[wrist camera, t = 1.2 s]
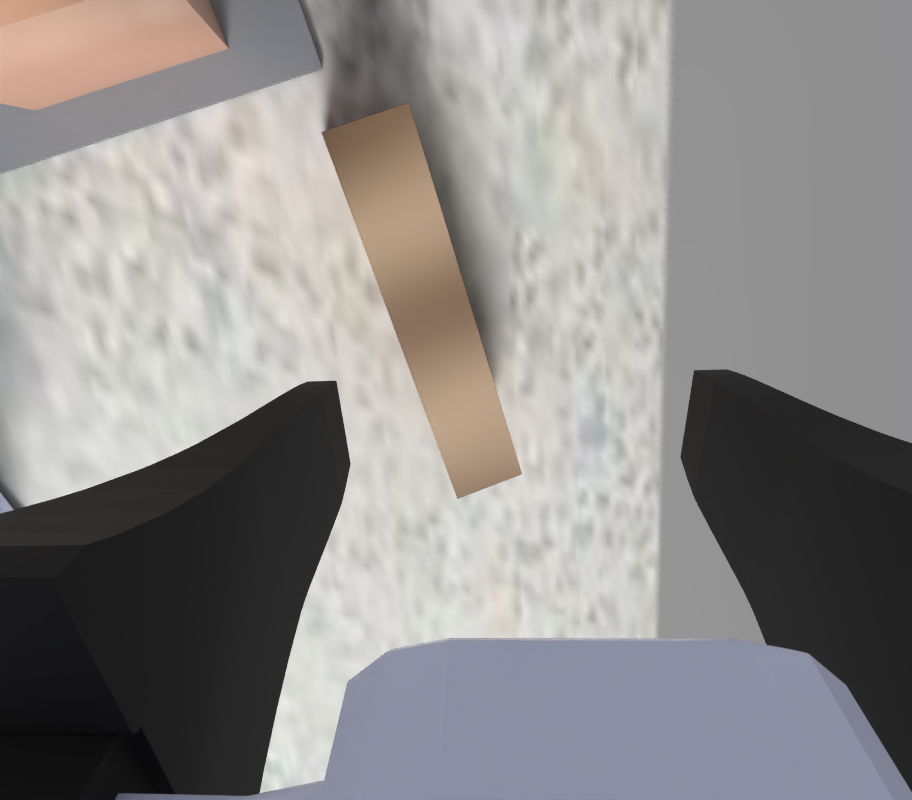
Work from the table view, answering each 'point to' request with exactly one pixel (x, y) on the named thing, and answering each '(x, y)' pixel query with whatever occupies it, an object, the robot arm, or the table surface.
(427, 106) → the table surface
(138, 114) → the mat
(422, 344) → the bar
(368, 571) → the table surface
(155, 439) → the table surface
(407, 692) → the robot arm
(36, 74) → the block
